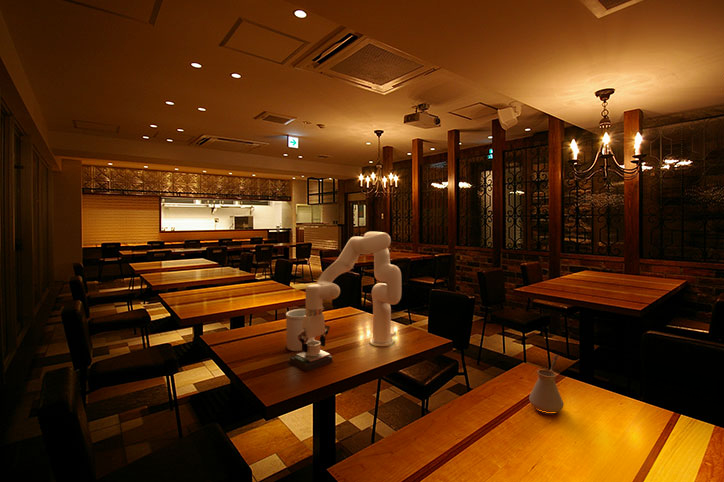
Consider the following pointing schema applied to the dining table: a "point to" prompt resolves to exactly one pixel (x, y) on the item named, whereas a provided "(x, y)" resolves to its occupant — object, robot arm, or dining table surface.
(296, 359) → the scale
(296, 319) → the utensil holder
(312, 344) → the bowl
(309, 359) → the scale pan
